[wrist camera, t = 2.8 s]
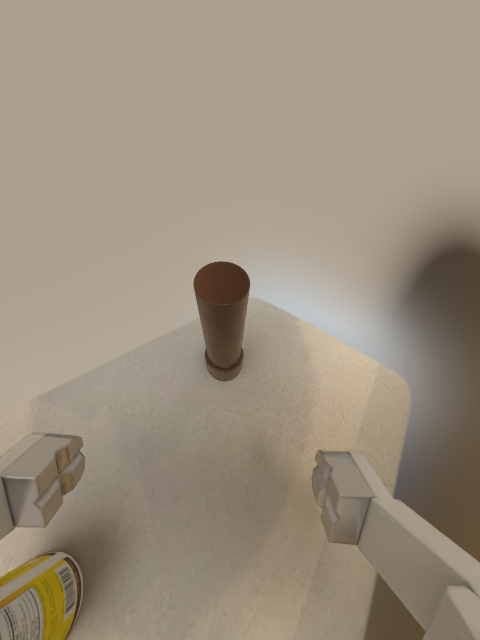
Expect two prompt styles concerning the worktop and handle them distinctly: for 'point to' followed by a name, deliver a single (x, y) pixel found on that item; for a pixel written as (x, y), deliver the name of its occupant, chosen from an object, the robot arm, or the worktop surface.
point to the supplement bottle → (41, 598)
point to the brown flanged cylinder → (222, 316)
